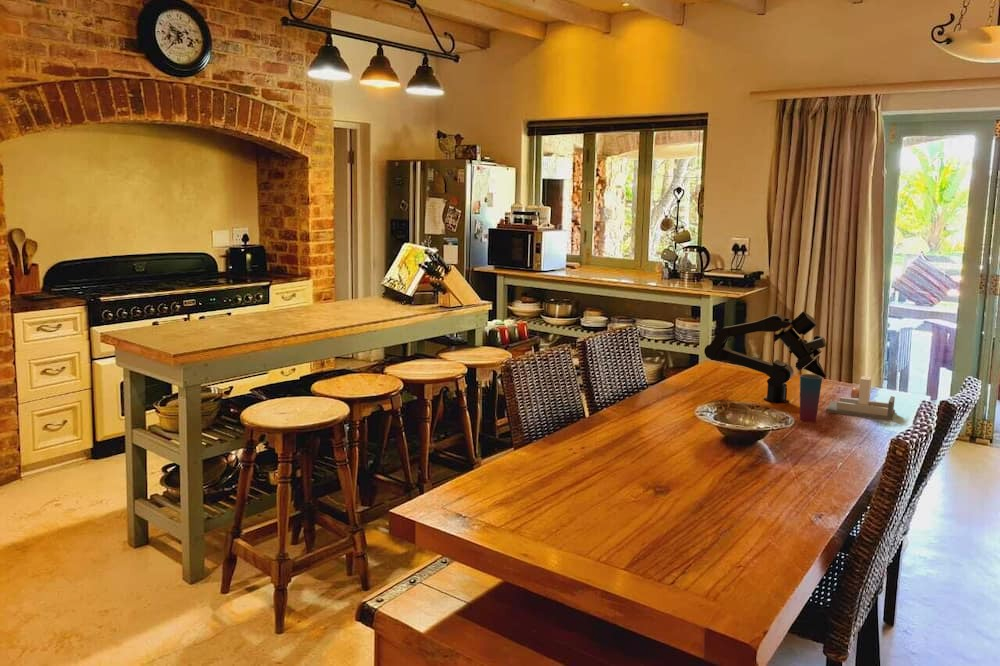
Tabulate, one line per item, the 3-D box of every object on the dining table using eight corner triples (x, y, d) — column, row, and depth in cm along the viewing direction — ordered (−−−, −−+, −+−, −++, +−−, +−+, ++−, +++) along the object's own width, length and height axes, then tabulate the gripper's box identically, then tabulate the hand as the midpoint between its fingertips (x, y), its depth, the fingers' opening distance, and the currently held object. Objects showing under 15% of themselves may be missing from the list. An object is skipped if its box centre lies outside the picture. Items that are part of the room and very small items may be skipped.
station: (826, 411, 265) (827, 395, 264) (831, 404, 275) (832, 388, 274) (891, 420, 255) (893, 403, 254) (894, 412, 265) (896, 395, 264)
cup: (795, 421, 254) (799, 377, 251) (798, 416, 260) (801, 373, 257) (817, 423, 251) (821, 379, 248) (819, 418, 257) (823, 375, 254)
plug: (849, 408, 264) (852, 378, 262) (851, 405, 269) (854, 375, 267) (867, 411, 261) (869, 380, 259) (868, 407, 266) (871, 377, 264)
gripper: (807, 332, 261) (840, 368, 258) (817, 325, 277) (847, 358, 273) (782, 352, 267) (813, 387, 263) (792, 344, 282) (822, 377, 279)
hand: (825, 377), depth 269 cm, fingers closed
